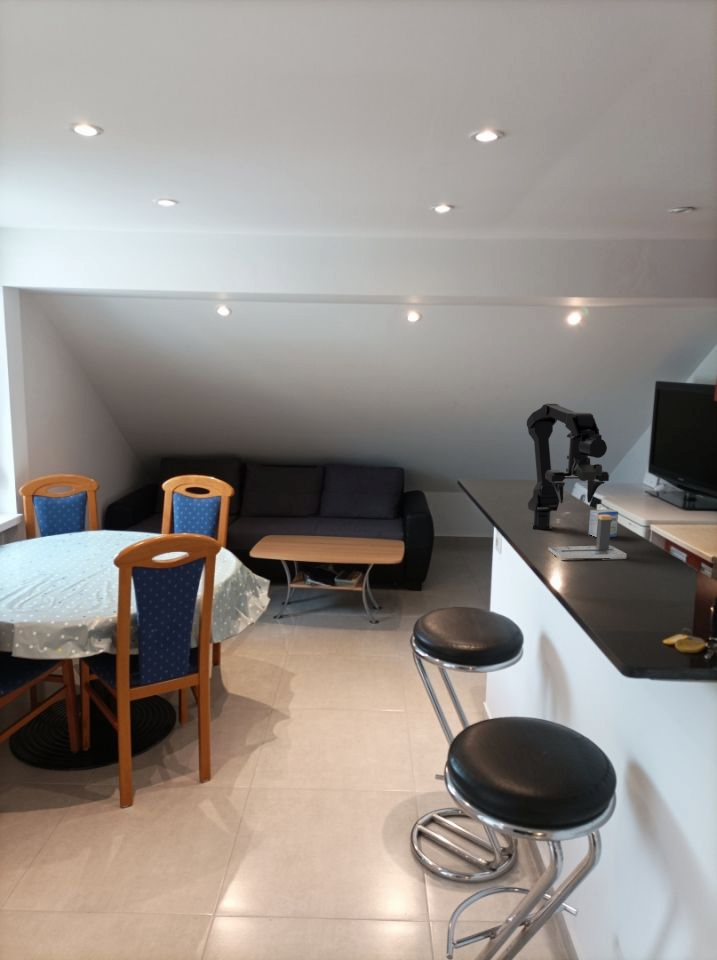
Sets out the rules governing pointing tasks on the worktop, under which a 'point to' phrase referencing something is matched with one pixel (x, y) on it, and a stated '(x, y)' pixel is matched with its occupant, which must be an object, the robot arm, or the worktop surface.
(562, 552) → the fader console
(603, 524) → the fader lever
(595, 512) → the medicine box
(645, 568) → the worktop surface
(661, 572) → the worktop surface
